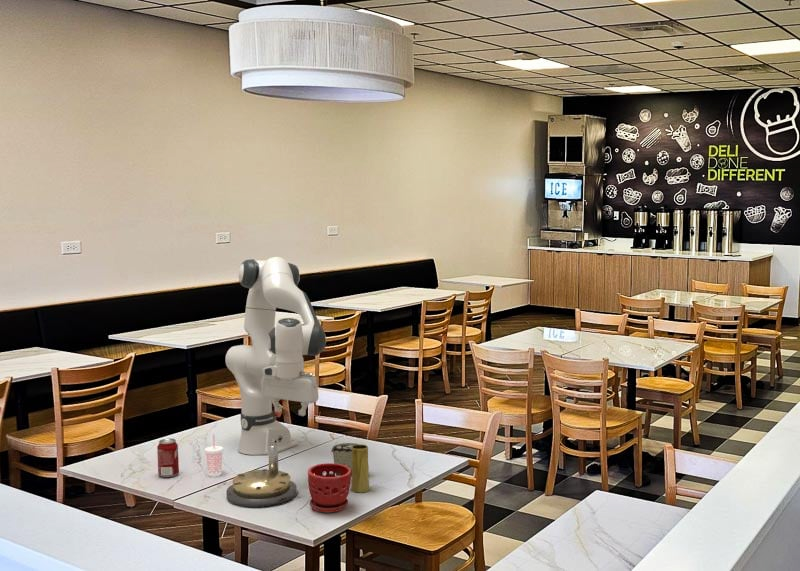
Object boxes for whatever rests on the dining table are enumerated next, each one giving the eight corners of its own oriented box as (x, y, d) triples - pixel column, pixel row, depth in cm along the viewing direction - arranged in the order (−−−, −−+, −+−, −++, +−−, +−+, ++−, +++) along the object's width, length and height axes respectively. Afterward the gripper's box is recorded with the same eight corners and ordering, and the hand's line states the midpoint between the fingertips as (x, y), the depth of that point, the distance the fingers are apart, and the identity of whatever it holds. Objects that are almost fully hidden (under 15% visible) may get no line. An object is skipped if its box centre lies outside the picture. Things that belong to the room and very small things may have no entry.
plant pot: (306, 516, 246) (305, 476, 244) (310, 499, 259) (310, 462, 257) (350, 515, 246) (349, 476, 244) (352, 499, 259) (352, 462, 257)
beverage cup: (202, 476, 281) (200, 435, 280) (212, 470, 287) (210, 430, 286) (217, 478, 279) (216, 437, 278) (227, 472, 285) (226, 432, 284)
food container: (372, 472, 284) (371, 444, 283) (365, 478, 278) (365, 449, 277) (338, 469, 288) (338, 441, 287) (331, 474, 282) (331, 446, 281)
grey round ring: (267, 478, 279) (267, 471, 278) (311, 493, 264) (311, 486, 264) (212, 496, 262) (212, 489, 262) (255, 513, 248) (255, 506, 247)
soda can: (173, 479, 279) (171, 444, 277) (154, 477, 280) (153, 443, 279) (182, 472, 285) (181, 438, 284) (164, 471, 286) (162, 437, 285)
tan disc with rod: (268, 501, 251) (267, 463, 249) (220, 492, 259) (219, 455, 258) (301, 483, 267) (300, 447, 265) (256, 475, 275) (255, 440, 274)
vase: (362, 494, 263) (362, 450, 262) (347, 490, 266) (346, 447, 265) (373, 488, 268) (373, 445, 267) (357, 485, 272) (357, 442, 270)
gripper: (322, 372, 259) (322, 415, 261) (270, 365, 269) (271, 407, 271) (310, 375, 254) (310, 420, 255) (258, 368, 264) (258, 411, 265)
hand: (290, 413), depth 263 cm, fingers open, 8 cm apart
